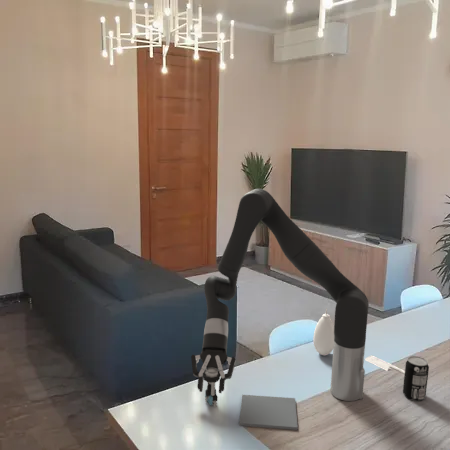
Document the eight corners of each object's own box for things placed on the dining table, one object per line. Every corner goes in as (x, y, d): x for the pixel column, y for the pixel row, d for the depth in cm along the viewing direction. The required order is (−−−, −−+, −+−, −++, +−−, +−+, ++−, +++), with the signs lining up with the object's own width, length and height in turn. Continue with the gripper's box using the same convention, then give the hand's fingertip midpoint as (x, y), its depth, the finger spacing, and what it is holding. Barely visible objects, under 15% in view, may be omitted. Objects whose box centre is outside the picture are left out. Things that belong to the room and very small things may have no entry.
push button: (223, 406, 137) (225, 375, 135) (207, 410, 135) (208, 378, 133) (215, 394, 143) (216, 365, 141) (199, 398, 141) (200, 367, 139)
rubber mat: (294, 400, 141) (295, 398, 141) (297, 429, 127) (297, 427, 127) (242, 396, 142) (242, 394, 142) (239, 425, 129) (239, 423, 128)
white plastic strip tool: (400, 379, 155) (400, 376, 154) (363, 361, 166) (363, 358, 166) (409, 374, 157) (409, 371, 157) (372, 357, 169) (372, 354, 169)
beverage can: (408, 387, 149) (411, 353, 146) (428, 396, 144) (433, 360, 142) (398, 395, 144) (402, 360, 142) (419, 404, 140) (424, 368, 137)
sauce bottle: (308, 354, 170) (311, 308, 166) (319, 347, 175) (322, 302, 172) (327, 361, 165) (331, 314, 161) (338, 354, 170) (341, 307, 167)
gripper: (191, 330, 143) (184, 387, 134) (238, 333, 142) (234, 390, 133) (194, 338, 149) (187, 393, 140) (238, 341, 148) (235, 396, 139)
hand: (210, 391), depth 136 cm, fingers closed on push button, 5 cm apart
